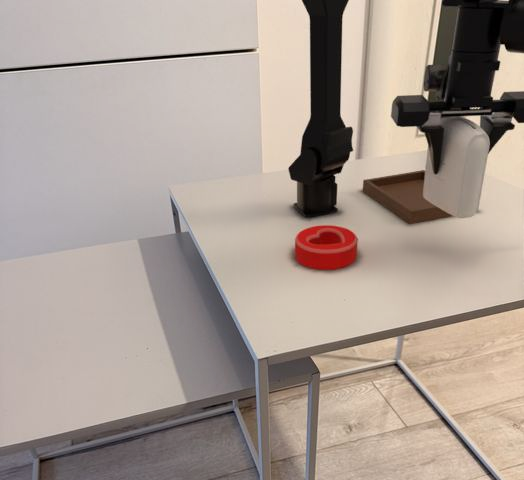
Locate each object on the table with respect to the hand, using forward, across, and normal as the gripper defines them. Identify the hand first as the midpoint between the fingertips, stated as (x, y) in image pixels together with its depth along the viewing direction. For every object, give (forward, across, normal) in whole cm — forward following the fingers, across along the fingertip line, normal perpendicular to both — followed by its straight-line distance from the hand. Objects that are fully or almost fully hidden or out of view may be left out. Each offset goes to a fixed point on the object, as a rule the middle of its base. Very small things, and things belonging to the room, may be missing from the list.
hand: (454, 173), depth 77 cm
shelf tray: (+12, -1, -22) cm, 25 cm away
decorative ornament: (+13, +18, 0) cm, 22 cm away
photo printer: (+5, 0, 0) cm, 5 cm away
